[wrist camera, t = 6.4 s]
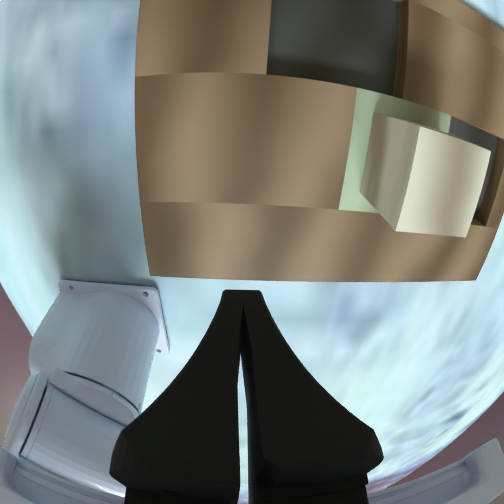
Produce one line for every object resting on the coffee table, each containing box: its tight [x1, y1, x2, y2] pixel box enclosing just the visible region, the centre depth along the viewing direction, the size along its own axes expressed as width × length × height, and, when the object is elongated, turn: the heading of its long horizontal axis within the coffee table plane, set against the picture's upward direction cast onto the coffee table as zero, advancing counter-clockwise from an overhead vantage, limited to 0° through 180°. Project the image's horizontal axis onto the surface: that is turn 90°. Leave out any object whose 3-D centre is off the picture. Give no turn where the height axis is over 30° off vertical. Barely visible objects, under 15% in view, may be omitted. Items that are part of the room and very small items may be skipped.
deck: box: [135, 0, 504, 282], centre depth 15 cm, size 28×22×2 cm
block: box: [360, 112, 491, 238], centre depth 13 cm, size 5×5×5 cm
